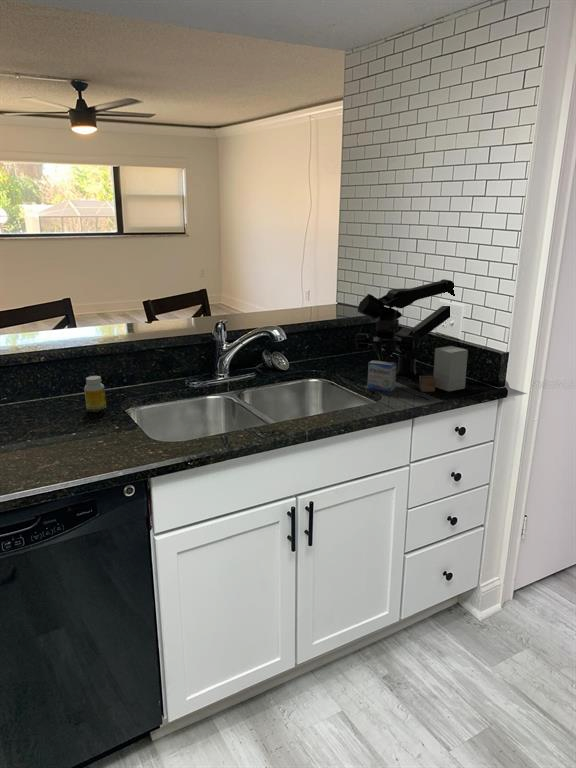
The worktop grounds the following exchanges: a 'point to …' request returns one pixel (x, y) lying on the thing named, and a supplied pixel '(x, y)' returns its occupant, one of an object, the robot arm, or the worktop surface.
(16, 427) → the worktop surface
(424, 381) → the walnut block
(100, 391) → the supplement bottle
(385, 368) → the medicine box
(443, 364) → the supplement box
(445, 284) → the robot arm
